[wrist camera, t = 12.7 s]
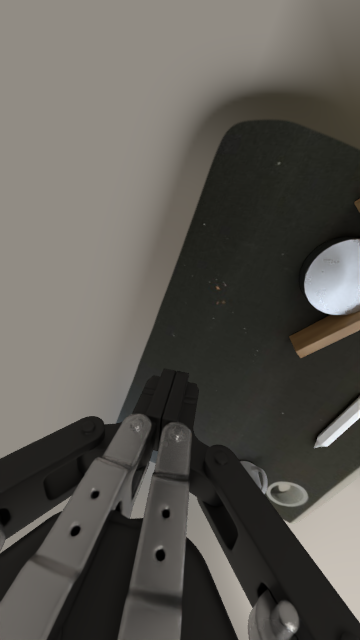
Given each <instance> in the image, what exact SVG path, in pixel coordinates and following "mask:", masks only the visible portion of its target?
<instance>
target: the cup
mask: <svg viewBox="0 0 360 640" xmlns="http://www.w3.org/2000/svg"><path fill="white" fill-rule="evenodd" d="M240 462H241V464H242V465H243V466H244V468H245V469H246V470H247V472H248V473H249V475H250V476H251V477H252V479H253V480H254V481H255V483H256V484H257V485H258V487H259V488H260V489H261V491H262V492H263V493H264V494H265V493H266V490H267V485H268V484H267V477H266V474H265V472H264V471H263V470H262V469H261V468H260V467H257V466H255V465H254V464H252V463H250V462H247V461H240ZM258 472H261V474H262V477H263V485H262V486H261V482H260V478H259V475H258Z"/></svg>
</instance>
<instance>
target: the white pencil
mask: <svg viewBox="0 0 360 640" xmlns="http://www.w3.org/2000/svg"><path fill="white" fill-rule="evenodd" d="M359 418H360V396H359V397H358V398H357V399H356V400H355V401H354V402H353V403H352V404H351V405H350V406H349V407H348V408H347V409H346V410H345V411H344V412H342V413H341V414H340V415H339V416H338V417H337V418H336V419H335V420H334V421H333V422H332V423H331V424H330V425H329V426H328V427H327V428H326V429H325V430H323V431H322V432H321V433H320V434H319V435H318V437H317V441H316V443H315V446H314V448H316V447H322V446H326V447H327V446H329V445H330V444H331V443H332V442H333V441H334V440H335V439H336V438H338V437H339V436H340V435H341V434H342V433H343V432H344V431H345V430H347V429H348V428H349V427H350V426H351V425H352V424H353V423H354V422H356V421H357V420H358V419H359Z"/></svg>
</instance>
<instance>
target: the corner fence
mask: <svg viewBox="0 0 360 640" xmlns="http://www.w3.org/2000/svg"><path fill="white" fill-rule="evenodd" d="M354 203H355V205H356V207H357V209H358V211H359V212H360V199H358V200H357V201H355V202H354ZM359 330H360V311H359V312H356V313H352V314H348V315H329V316H327V317H325V318H324V319H322V320H320V321H318V322H316V323H314V324H312V325H310V326H308V327H306V328H304V329H303V330H301V331H299V332H297V333H295V334H293V335H291V336H289V338H290V340H291V342H292V344H293V346H294V349H295V351H296V352H297V354H298V355H299V357H300V358H302V357H304V356H306V355H308V354H311V353H313V352H315V351H317V350H319V349H321V348H323V347H325V346H327V345H329V344H332V343H334V342H336V341H338V340H340V339H342V338H344V337H346V336H348V335H350V334H353V333H355V332H357V331H359Z"/></svg>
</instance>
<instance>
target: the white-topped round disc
mask: <svg viewBox="0 0 360 640" xmlns="http://www.w3.org/2000/svg"><path fill="white" fill-rule="evenodd" d="M299 285H300V289H301V291H302V293H303V295H304V296H305V297H306V299H307V300H308V301H309V302H310V303H311V304H312V305H313V306H314V307H315V308H316V309H318V310H319V311H321V312H324V313H326V314H331V315H348V314H352V313H356V312H359V311H360V238H355V237H340V238H336V239H332V240H330V241H327V242H325V243H323V244H322V245H320V246H319V247H317V248H316V249H315V250H314V251H312V252H311V253H310V255H309V256H308V257H307V258H306V260H305V261H304V263H303V265H302V268H301V270H300V275H299Z"/></svg>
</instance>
